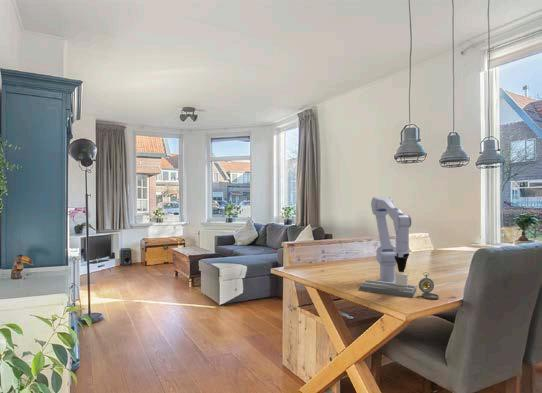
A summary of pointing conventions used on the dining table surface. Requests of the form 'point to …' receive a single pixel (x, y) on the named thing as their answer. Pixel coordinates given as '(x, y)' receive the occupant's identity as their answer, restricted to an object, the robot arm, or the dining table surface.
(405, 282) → the fader tab
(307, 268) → the dining table surface
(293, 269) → the dining table surface
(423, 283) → the pocket watch
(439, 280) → the dining table surface
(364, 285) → the fader console
